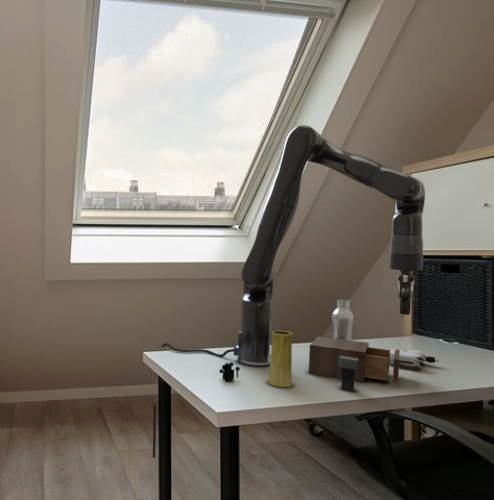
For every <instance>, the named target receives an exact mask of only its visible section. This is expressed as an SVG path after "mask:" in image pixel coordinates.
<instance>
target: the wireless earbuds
mask: <svg viewBox="0 0 494 500" xmlns="http://www.w3.org/2000/svg"><path fill="white" fill-rule="evenodd" d="M233 366H234V363H233V361H231V362H226V363H225V364H223V365H222V366H221V368H220V369H219V373H220V374H222V381H225V382H230V381H234V380H235V376H236V378H237V379H238V378H239V371H240V370H241V368H240V367H239V366H236V367H235V369H233ZM235 371H236V375H235Z"/></svg>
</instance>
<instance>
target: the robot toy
mask: <svg viewBox="0 0 494 500" xmlns="http://www.w3.org/2000/svg"><path fill="white" fill-rule="evenodd" d="M389 350H390V364H392V365H394V354H395V349H389ZM399 360H404V361H411V362H414V361H418V362H419V364H420V366H422V365H424V363H429V364H435V363H438V362H440V359H439V358H435V357H434V356H429V355H428V356H426V353H424V352H423V351H419V350H413V349H409V350H400V358H399ZM399 365H406V366H413V364H408V363H401V362H399Z"/></svg>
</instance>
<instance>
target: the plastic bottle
mask: <svg viewBox="0 0 494 500" xmlns="http://www.w3.org/2000/svg"><path fill="white" fill-rule="evenodd" d="M350 303H351V302H350V300H348V299H346V300H345V299H337V300H336V306H337V307H336V308H335V309H334V310H333V312H332V313H331V324H332V338H334V339H342V340H350V341H352V330H353V324H354V318H355V317H354V314H353V312H352V310H351V309H350V307H351V305H350Z"/></svg>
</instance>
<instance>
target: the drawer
mask: <svg viewBox="0 0 494 500" xmlns="http://www.w3.org/2000/svg"><path fill="white" fill-rule="evenodd" d="M390 350H391V349H387V348H380V347H379V348H377V347H372V346H369V347H368V348H367V351H366V353H365V370H364V377H365V378H367V379H373V380H381V381H386V382H387V381H388V380H389V374H390V364H391V362H390ZM394 350H395V354H394V364H393V368H392V369H393V370H392V371H393V372H392V384H396V385H398V384H399V375H400V368H402V369H403V368H404V369H411V370H413V371H415V372H419V371H420V370H421V368H420V367H421V365H420V364H419V362H418V361H414V362H411V361H404V360H399V358H400V351H401V350H400V349H394ZM399 362H401V363H408V364H413V366H406V365H404V364H401V363H400V364H399Z"/></svg>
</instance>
